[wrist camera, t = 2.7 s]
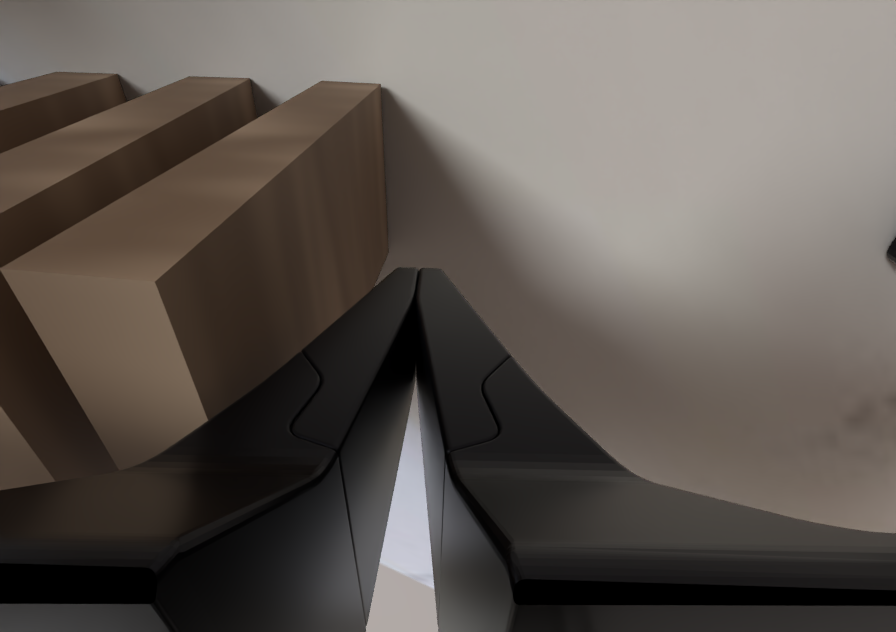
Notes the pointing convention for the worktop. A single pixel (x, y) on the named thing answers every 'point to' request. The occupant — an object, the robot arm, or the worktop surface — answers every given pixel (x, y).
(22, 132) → the domino
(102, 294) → the domino
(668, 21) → the worktop surface
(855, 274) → the worktop surface
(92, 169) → the domino
